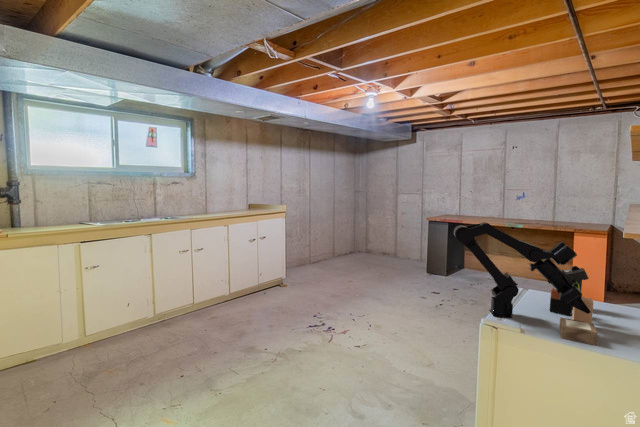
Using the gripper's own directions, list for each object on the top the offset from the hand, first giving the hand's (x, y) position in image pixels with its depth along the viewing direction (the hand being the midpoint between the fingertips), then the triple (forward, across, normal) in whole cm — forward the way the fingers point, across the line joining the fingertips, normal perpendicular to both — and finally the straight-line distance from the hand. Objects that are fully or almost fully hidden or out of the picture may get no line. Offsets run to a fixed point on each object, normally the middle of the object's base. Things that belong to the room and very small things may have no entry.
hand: (587, 308), depth 121 cm
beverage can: (+3, +22, +7) cm, 23 cm away
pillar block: (+4, 0, +6) cm, 7 cm away
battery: (0, +12, +10) cm, 15 cm away
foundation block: (+2, -11, +7) cm, 14 cm away
